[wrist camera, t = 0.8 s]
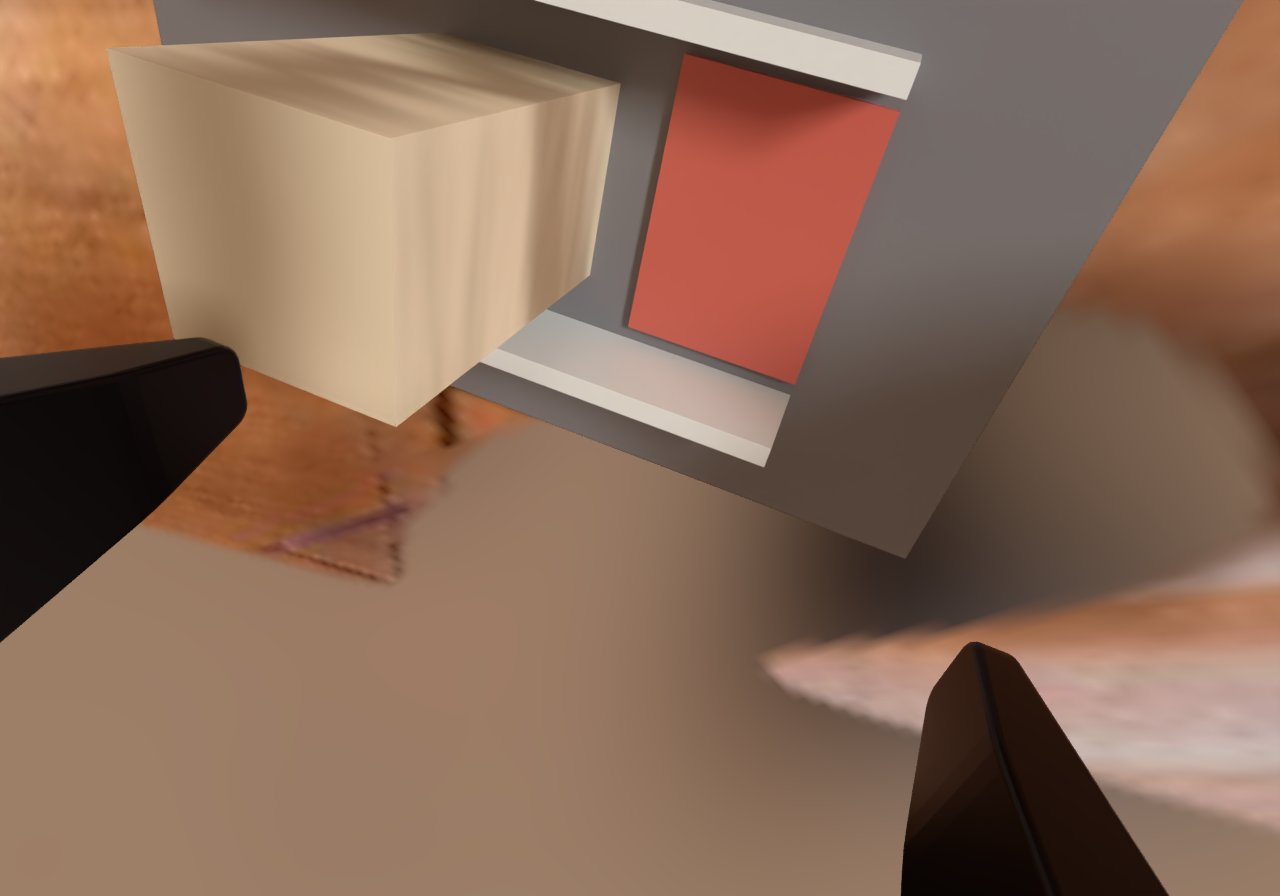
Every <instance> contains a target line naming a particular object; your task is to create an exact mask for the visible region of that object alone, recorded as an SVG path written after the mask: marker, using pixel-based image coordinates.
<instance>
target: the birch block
mask: <svg viewBox="0 0 1280 896" xmlns="http://www.w3.org/2000/svg"><path fill="white" fill-rule="evenodd" d="M106 49H107V54H108V58H109V62H110V67H111V71H112V75H113V79H114V84H115V88H116V92H117V97H118V101H119V105H120V109H121V114H122V118H123V122H124V127H125V131H126V135H127V139H128V144H129V148H130V152H131V157H132V161H133V165H134V169H135V174H136V178H137V182H138V187H139V191H140V195H141V199H142V204H143V208H144V212H145V217H146V221H147V225H148V229H149V234H150V238H151V242H152V247H153V251H154V255H155V259H156V264H157V268H158V272H159V277H160V281H161V285H162V290H163V294H164V298H165V302H166V307H167V311H168V315H169V320H170V324H171V328H172V332H173V337H174V339H184V338H193V337H203V338H208V339H211V340H213V341H216V342H218V343H221V344H223V345H226V346H228V347H230V348H232V349H233V350H234V351H235V352H236V354H237V355H238V357H239V360H240V365H242V366H244V367H247V368H249V369H252V370H254V371H257V372H259V373H262V374H264V375H267V376H269V377H272V378H274V379H277V380H279V381H282V382H284V383H287V384H289V385H292V386H294V387H297V388H299V389H302V390H304V391H307V392H309V393H312V394H314V395H317V396H319V397H322V398H324V399H327V400H329V401H332V402H334V403H337V404H339V405H342V406H344V407H347V408H350V409H352V410H355V411H357V412H360V413H362V414H365V415H367V416H370V417H372V418H375V419H377V420H380V421H382V422H385V423H387V424H390V425H392V426H395V427H397V426H398V425H399V424H401V423H402V422H403V421H404V420H406V419H407V418H408V417H410V416H411V415H412V414H413V413H415V412H416V411H417V410H419V409H420V408H421V407H422V406H424V405H425V404H426V403H427V402H429V401H430V400H431V399H433V398H434V397H435V396H436V395H438V394H439V393H440V392H441V391H443V390H444V389H445V388H447V387H448V386H449V385H450V384H452V383H453V382H454V381H456V380H457V379H458V378H459V377H461V376H462V375H463V374H464V373H466V372H467V371H468V370H470V369H471V368H472V367H473V366H475V365H476V364H477V363H479V362H480V361H481V360H482V359H484V358H485V357H486V356H487V355H489V354H490V353H491V352H493V351H494V350H495V349H496V348H498V347H499V346H500V345H501V344H503V343H504V342H505V341H507V340H508V339H509V338H510V337H512V336H513V335H514V334H516V333H517V332H518V331H519V330H521V329H522V328H523V327H524V326H526V325H527V324H528V323H530V322H531V321H532V320H533V319H535V318H536V317H537V316H538V315H540V314H541V313H542V312H544V311H545V310H546V309H547V308H549V307H550V306H551V305H553V304H554V303H555V302H556V301H558V300H559V299H560V298H561V297H563V296H564V295H565V294H567V293H568V292H569V291H570V290H572V289H573V288H574V287H576V286H577V285H578V284H579V283H581V282H582V281H583V280H584V279H586V278H587V277H588V276H590V272H591V266H592V259H593V253H594V247H595V241H596V234H597V228H598V222H599V216H600V209H601V203H602V197H603V191H604V185H605V178H606V172H607V166H608V160H609V153H610V147H611V141H612V135H613V129H614V122H615V116H616V110H617V104H618V97H619V91H620V85H621V83H618V82H614V81H611V80H607V79H603V78H600V77H596V76H593V75H589V74H586V73H582V72H579V71H575V70H572V69H568V68H565V67H561V66H558V65H554V64H551V63H547V62H544V61H540V60H537V59H533V58H530V57H526V56H523V55H519V54H516V53H512V52H508V51H505V50H501V49H498V48H494V47H491V46H487V45H484V44H480V43H477V42H473V41H470V40H466V39H463V38H459V37H456V36H452V35H449V34H445V33H442V32H440V33H419V34H397V35H376V36H354V37H332V38H311V39H289V40H268V41H246V42H224V43H203V44H181V45H160V46H138V47H116V48H106Z"/></svg>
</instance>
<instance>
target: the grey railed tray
mask: <svg viewBox="0 0 1280 896" xmlns="http://www.w3.org/2000/svg"><path fill="white" fill-rule="evenodd" d="M1243 1H1244V0H154V5H155V10H156V16H157V21H158V26H159V31H160V37H161V42H162V45H181V44H203V43H224V42H246V41H268V40H289V39H311V38H332V37H354V36H376V35H397V34H419V33H440V32H442V33H445V34H449V35H452V36H456V37H459V38H463V39H466V40H470V41H473V42H477V43H480V44H484V45H487V46H491V47H494V48H498V49H501V50H505V51H508V52H512V53H516V54H519V55H523V56H526V57H530V58H533V59H537V60H540V61H544V62H547V63H551V64H554V65H558V66H561V67H565V68H568V69H572V70H575V71H579V72H582V73H586V74H589V75H593V76H596V77H600V78H603V79H607V80H611V81H614V82H618V83H621V85H620V91H619V97H618V104H617V110H616V116H615V122H614V129H613V135H612V141H611V147H610V153H609V160H608V166H607V172H606V178H605V185H604V191H603V197H602V203H601V209H600V216H599V222H598V228H597V234H596V241H595V247H594V253H593V259H592V266H591V272H590V276H588V277H587V278H586V279H584V280H583V281H582V282H581V283H579V284H578V285H577V286H576V287H574V288H573V289H572V290H570V291H569V292H568V293H567V294H565V295H564V296H563V297H561V298H560V299H559V300H558V301H556V302H555V303H554V304H553V305H551V306H550V307H549V308H547V309H546V310H545V311H544V312H542V313H541V314H540V315H538V316H537V317H536V318H535V319H533V320H532V321H531V322H530V323H528V324H527V325H526V326H524V327H523V328H522V329H521V330H519V331H518V332H517V333H516V334H514V335H513V336H512V337H510V338H509V339H508V340H507V341H505V342H504V343H503V344H501V345H500V346H499V347H498V348H496V349H495V350H494V351H493V352H491V353H490V354H489V355H487V356H486V357H485V358H484V359H482V360H481V361H480V362H479V363H477V364H476V365H475V366H473V367H472V368H471V369H470V370H468V371H467V372H466V373H464V374H463V375H462V376H461V377H459V378H458V379H457V380H456V381H454V382H453V383H452V384H450V386H453V387H455V388H458V389H461V390H463V391H466V392H468V393H471V394H474V395H476V396H479V397H482V398H484V399H487V400H489V401H492V402H495V403H497V404H500V405H503V406H505V407H508V408H510V409H513V410H516V411H518V412H521V413H524V414H526V415H529V416H531V417H534V418H537V419H539V420H542V421H545V422H547V423H550V424H552V425H555V426H558V427H560V428H563V429H566V430H568V431H571V432H573V433H576V434H579V435H581V436H584V437H587V438H589V439H592V440H594V441H597V442H600V443H602V444H605V445H608V446H610V447H613V448H615V449H618V450H621V451H623V452H626V453H629V454H631V455H634V456H637V457H639V458H642V459H644V460H647V461H650V462H652V463H655V464H658V465H660V466H663V467H666V468H668V469H671V470H673V471H676V472H678V473H681V474H684V475H686V476H689V477H692V478H694V479H697V480H699V481H702V482H705V483H707V484H710V485H713V486H715V487H718V488H721V489H724V490H726V491H728V492H731V493H734V494H736V495H739V496H741V497H744V498H747V499H750V500H752V501H755V502H757V503H760V504H763V505H765V506H768V507H770V508H773V509H776V510H778V511H781V512H784V513H786V514H789V515H791V516H794V517H797V518H800V519H802V520H804V521H807V522H810V523H812V524H815V525H818V526H820V527H823V528H825V529H828V530H831V531H833V532H836V533H839V534H841V535H844V536H847V537H849V538H852V539H854V540H857V541H860V542H862V543H865V544H868V545H870V546H873V547H875V548H878V549H881V550H883V551H886V552H888V553H891V554H894V555H897V556H899V557H902V558H904V559H906V557H907V555H908V554H909V552H910V550H911V549H912V547H913V545H914V544H915V542H916V540H917V539H918V537H919V535H920V533H921V532H922V530H923V529H924V527H925V526H926V524H927V522H928V521H929V519H930V517H931V516H932V514H933V512H934V510H935V509H936V507H937V506H938V504H939V502H940V501H941V499H942V497H943V496H944V494H945V492H946V491H947V489H948V488H949V486H950V484H951V483H952V481H953V479H954V478H955V476H956V474H957V473H958V471H959V469H960V468H961V466H962V464H963V463H964V461H965V459H966V458H967V456H968V455H969V453H970V451H971V450H972V448H973V446H974V445H975V443H976V441H977V440H978V438H979V436H980V435H981V433H982V431H983V430H984V428H985V426H986V425H987V423H988V421H989V420H990V418H991V416H992V415H993V413H994V412H995V410H996V408H997V407H998V405H999V403H1000V402H1001V400H1002V398H1003V397H1004V395H1005V393H1006V392H1007V390H1008V389H1009V387H1010V385H1011V383H1012V382H1013V380H1014V379H1015V377H1016V375H1017V374H1018V372H1019V370H1020V369H1021V367H1022V365H1023V364H1024V362H1025V360H1026V359H1027V357H1028V355H1029V354H1030V352H1031V350H1032V349H1033V347H1034V345H1035V344H1036V342H1037V340H1038V339H1039V337H1040V336H1041V334H1042V332H1043V331H1044V329H1045V327H1046V326H1047V324H1048V322H1049V321H1050V319H1051V318H1052V316H1053V314H1054V313H1055V311H1056V309H1057V308H1058V306H1059V304H1060V303H1061V301H1062V299H1063V298H1064V296H1065V294H1066V293H1067V291H1068V289H1069V288H1070V286H1071V285H1072V283H1073V281H1074V280H1075V278H1076V276H1077V275H1078V273H1079V271H1080V270H1081V268H1082V266H1083V265H1084V263H1085V261H1086V260H1087V258H1088V256H1089V255H1090V253H1091V252H1092V250H1093V248H1094V247H1095V245H1096V243H1097V242H1098V240H1099V238H1100V237H1101V235H1102V233H1103V232H1104V230H1105V228H1106V227H1107V225H1108V223H1109V222H1110V220H1111V218H1112V217H1113V215H1114V214H1115V212H1116V210H1117V209H1118V207H1119V205H1120V204H1121V202H1122V200H1123V199H1124V197H1125V195H1126V194H1127V192H1128V190H1129V189H1130V187H1131V185H1132V184H1133V182H1134V181H1135V179H1136V177H1137V176H1138V174H1139V172H1140V171H1141V169H1142V167H1143V166H1144V164H1145V162H1146V161H1147V159H1148V157H1149V156H1150V154H1151V152H1152V151H1153V149H1154V148H1155V146H1156V144H1157V143H1158V141H1159V139H1160V138H1161V136H1162V134H1163V133H1164V131H1165V129H1166V128H1167V126H1168V124H1169V123H1170V121H1171V119H1172V118H1173V116H1174V114H1175V113H1176V111H1177V110H1178V108H1179V106H1180V105H1181V103H1182V101H1183V100H1184V98H1185V96H1186V95H1187V93H1188V91H1189V90H1190V88H1191V86H1192V85H1193V83H1194V81H1195V80H1196V78H1197V77H1198V75H1199V73H1200V72H1201V70H1202V68H1203V67H1204V65H1205V63H1206V62H1207V60H1208V58H1209V57H1210V55H1211V53H1212V52H1213V50H1214V48H1215V47H1216V45H1217V44H1218V42H1219V40H1220V39H1221V37H1222V35H1223V34H1224V32H1225V30H1226V29H1227V27H1228V25H1229V24H1230V22H1231V20H1232V19H1233V17H1234V15H1235V14H1236V12H1237V11H1238V9H1239V7H1240V6H1241V4H1242V2H1243Z"/></svg>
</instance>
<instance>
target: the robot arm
mask: <svg viewBox="0 0 1280 896" xmlns="http://www.w3.org/2000/svg"><path fill="white" fill-rule="evenodd" d="M246 410H247V398H246V393H245V387H244V382H243V376H242V371H241V365H240V360H239V357H238V355H237V354H236V352H235V351H234V350H233V349H232V348H230V347H228V346H226V345H223V344H221V343H218V342H216V341H213V340H211V339H208V338H203V337H193V338H184V339H174V340H165V341H155V342H146V343H137V344H127V345H118V346H108V347H99V348H89V349H80V350H70V351H61V352H52V353H42V354H33V355H23V356H14V357H4V358H0V642H1V641H3V640H4V639H5V638H6V637H7V636H9V635H10V634H11V633H12V632H13V631H15V630H16V629H17V628H18V627H19V626H20V625H22V624H23V623H24V622H25V621H26V620H27V619H29V618H30V617H31V616H32V615H33V614H34V613H36V612H37V611H38V610H39V609H40V608H41V607H43V606H44V605H45V604H46V603H47V602H48V601H50V600H51V599H52V598H53V597H54V596H55V595H57V594H58V593H59V592H60V591H61V590H62V589H63V588H65V587H66V586H67V585H68V584H69V583H71V582H72V581H73V580H74V579H75V578H76V577H78V576H79V575H80V574H81V573H82V572H83V571H85V570H86V569H87V568H88V567H89V566H90V565H92V564H93V563H94V562H95V561H96V560H97V559H98V558H100V557H101V556H102V555H103V554H104V553H106V552H107V551H108V550H109V549H110V548H111V547H113V546H114V545H115V544H116V543H117V542H119V541H120V540H121V539H122V538H123V537H124V536H126V535H127V534H128V533H129V532H130V531H131V530H133V529H134V528H135V527H136V526H137V525H138V524H140V523H141V522H142V521H143V520H144V519H145V518H146V517H147V516H149V515H150V514H151V513H152V512H153V511H154V510H155V509H156V508H157V507H158V506H159V505H160V504H161V503H162V502H164V501H165V500H166V499H167V498H168V497H169V496H170V495H171V494H172V493H173V492H174V491H175V490H176V488H177V487H178V486H179V485H180V484H181V483H182V482H183V481H184V480H185V479H186V478H187V477H188V476H189V475H190V474H191V473H192V472H193V471H194V470H195V469H196V468H197V467H198V466H199V465H200V464H201V463H202V462H203V461H204V460H205V459H206V458H207V457H208V455H209V454H210V453H211V452H212V451H213V450H214V449H215V448H216V447H217V446H218V445H219V444H220V443H221V442H222V441H223V440H224V439H225V438H226V437H227V436H228V435H229V434H230V433H231V432H232V431H233V430H234V429H235V428H236V427H237V426H238V425H239V423H240V422H241V421H242V419H243V418H244V416H245V413H246ZM901 896H1169V894H1168V893H1167V891H1166V890H1165V888H1164V887H1163V885H1162V883H1161V882H1160V880H1159V879H1158V877H1157V876H1156V874H1155V873H1154V871H1153V869H1152V868H1151V866H1150V865H1149V863H1148V862H1147V860H1146V859H1145V857H1144V856H1143V854H1142V852H1141V851H1140V849H1139V848H1138V846H1137V845H1136V843H1135V842H1134V840H1133V839H1132V837H1131V835H1130V834H1129V832H1128V831H1127V829H1126V828H1125V826H1124V825H1123V823H1122V821H1121V820H1120V819H1119V817H1118V815H1117V814H1116V812H1115V811H1114V809H1113V808H1112V806H1111V804H1110V803H1109V801H1108V800H1107V798H1106V797H1105V795H1104V794H1103V792H1102V791H1101V789H1100V787H1099V786H1098V784H1097V783H1096V781H1095V780H1094V778H1093V777H1092V775H1091V773H1090V772H1089V770H1088V769H1087V767H1086V766H1085V764H1084V763H1083V761H1082V760H1081V758H1080V756H1079V755H1078V753H1077V752H1076V750H1075V749H1074V747H1073V746H1072V744H1071V743H1070V741H1069V739H1068V738H1067V736H1066V735H1065V733H1064V732H1063V730H1062V729H1061V727H1060V726H1059V724H1058V722H1057V721H1056V719H1055V718H1054V716H1053V715H1052V713H1051V712H1050V710H1049V708H1048V707H1047V705H1046V704H1045V702H1044V701H1043V699H1042V698H1041V696H1040V695H1039V693H1038V691H1037V690H1036V688H1035V687H1034V685H1033V684H1032V682H1031V681H1030V679H1029V678H1028V676H1027V674H1026V673H1025V671H1024V670H1023V668H1022V667H1021V665H1020V664H1019V662H1018V661H1017V660H1016V659H1015V658H1014V657H1013V656H1011V655H1010V654H1008V653H1005V652H1003V651H1000V650H998V649H995V648H993V647H990V646H988V645H985V644H983V643H980V642H970V643H968V644H967V645H966V646H964V647H963V649H962V650H961V651H960V652H959V654H958V655H957V656H956V658H955V659H954V660H953V662H952V663H951V664H950V666H949V667H948V668H947V670H946V671H945V672H944V674H943V675H942V676H941V678H940V679H939V681H938V682H937V683H936V685H935V686H934V688H933V690H932V692H931V694H930V696H929V699H928V702H927V706H926V711H925V717H924V723H923V729H922V736H921V742H920V748H919V754H918V760H917V766H916V772H915V778H914V784H913V790H912V796H911V803H910V809H909V815H908V821H907V828H906V835H905V842H904V850H903V864H902V880H901Z"/></svg>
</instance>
